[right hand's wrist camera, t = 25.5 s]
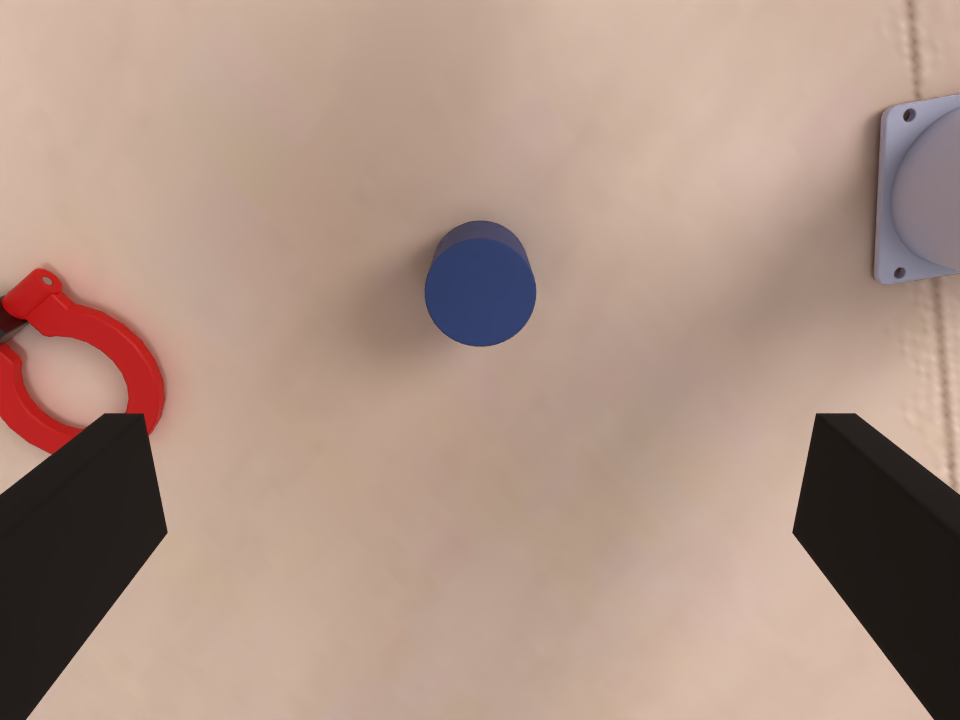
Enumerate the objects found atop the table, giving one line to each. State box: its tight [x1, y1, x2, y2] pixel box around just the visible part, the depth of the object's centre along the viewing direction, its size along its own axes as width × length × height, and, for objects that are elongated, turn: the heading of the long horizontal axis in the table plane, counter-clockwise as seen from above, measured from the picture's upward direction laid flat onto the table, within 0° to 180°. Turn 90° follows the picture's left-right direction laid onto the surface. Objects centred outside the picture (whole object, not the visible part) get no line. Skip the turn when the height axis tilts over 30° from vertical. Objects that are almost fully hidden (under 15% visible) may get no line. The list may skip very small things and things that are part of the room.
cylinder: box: [425, 221, 536, 347], centre depth 29 cm, size 5×5×5 cm
